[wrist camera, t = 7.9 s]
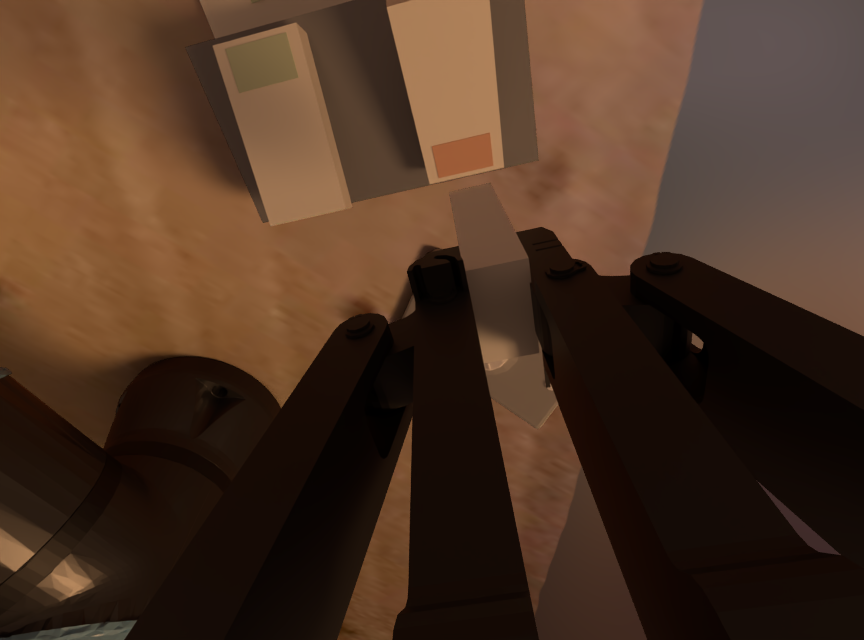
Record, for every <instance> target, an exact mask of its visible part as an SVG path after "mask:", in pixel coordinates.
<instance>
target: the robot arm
mask: <svg viewBox="0 0 864 640" xmlns="http://www.w3.org/2000/svg"><path fill="white" fill-rule="evenodd" d="M449 195H450V200H451V206H452V211H453V216H454V222H455V227H456V233H457V238H458V244H459V246H457V247H452V248H447V249H443V250H438V251H433V252H429V253H427V254H426V256H425V257H423V258H421V259H419V260H417V261H415V262H414V263H413V264H412V265H410V266H409V268H408V270H407V274H408V277H409V281H410V285H411V288H412V292H413V295H414V299H415V311H414V312H413V313H411V314H410V315H408V316H407V317H405V318H403V319H401V320H398V321H396V322H393V323H391V324H388V322H387V320H386V318H385V317H384V316H382V315H380V314H373V313H368V314H363V315H362V314H360V315H356V316H355V317H354V316H353V317H351V318H349V319H348V320H346V321H345V322H343V323H342V324H340V325H339V326H338V327H337V328H336V329H335V330H334V332H333V333H332V335H331V336H330V338H329V339H328V340H327V342H326V343H325V345H324V346H323V348H322V349H321V351H320V352H319V354H318V355H317V357H316V358H315V360H314V361H313V363H312V364H311V365H310V367H309V368H308V370H307V371H306V373H305V374H304V376H303V377H302V379H301V380H300V382H299V383H298V385H297V386H296V388H295V389H294V391H293V392H292V393H291V395H290V396H289V398H288V399H287V401H286V402H285V404H284V405H283V407H282V408H280V406H279V404H278V402H277V401H276V399H275V398H274V396H273V395H272V394H271V393H270V392H269V390H268V389H267V388H266V387H264V386H263V385H262V384H261V383H260V382H259V381H257V380H256V379H255V378H253V377H252V376H250V375H249V374H247V373H245V372H243V371H241V370H239V369H237V368H235V367H233V366H231V365H228V364H225V363H222V362H219V361H215V360H211V359H205V358H198V357H177V358H170V359H166V360H162V361H159V362H156V363H154V364H152V365H150V366H148V367H147V368H145V369H144V370H143V371H141V372H140V373H139V374H138V376H137V377H136V378H135V379H134V380H133V381H132V382H131V384H130V385H129V386H128V387H127V388H126V389H125V391H124V392H123V394H122V395H121V397H120V399H119V402H118V406H117V409H116V416H115V419H114V421H113V424H112V426H111V429H110V432H109V434H108V437H107V440H106V443H105V445H104V448H103V449H102V448H101V447H100V446H98V445H97V444H96V443H94V442H93V441H92V440H90V439H89V438H88V437H86V436H85V435H84V434H83V433H81V432H80V431H79V430H78V429H76V428H75V427H74V426H73V425H71V424H70V423H69V422H68V421H66V420H65V419H64V418H62V417H61V416H60V415H59V414H57V413H56V412H55V411H54V410H52V409H51V408H50V407H49V406H47V405H46V404H45V403H44V402H42V401H41V400H40V399H38V398H37V397H36V396H35V395H33V394H32V393H31V392H30V391H28V390H27V389H26V388H25V387H23V386H22V385H21V384H20V383H18V382H17V381H16V380H14V379H13V378H12V377H11V376H9V374H11V373H12V372H11V371H10V370H9V369H7V368H2V367H0V640H337V638H338V635H339V632H340V629H341V626H342V623H343V620H344V617H345V614H346V611H347V608H348V605H349V603H350V600H351V597H352V594H353V591H354V588H355V585H356V582H357V579H358V576H359V573H360V570H361V567H362V564H363V561H364V558H365V555H366V552H367V549H368V546H369V543H370V540H371V537H372V534H373V531H374V529H375V526H376V523H377V520H378V517H379V514H380V511H381V508H382V505H383V502H384V499H385V496H386V493H387V490H388V487H389V484H390V481H391V478H392V475H393V472H394V469H395V466H396V463H397V460H398V458H399V455H400V452H401V449H402V446H403V443H404V440H405V437H406V434H407V431H408V428H409V425H410V422H411V419H412V416H413V419H412V460H411V502H410V543H409V585H408V600H407V603H406V607H405V608H404V609H403V610H402V611H401V612H400V613H399V614H398V615H397V619H396V622H395V626H394V630H393V640H539V638H538V632H537V627H536V623H535V617H534V612H533V607H532V602H531V597H530V592H529V587H528V582H527V577H526V572H525V567H524V562H523V557H522V552H521V547H520V542H519V537H518V532H517V527H516V522H515V517H514V512H513V507H512V502H511V497H510V492H509V487H508V482H507V477H506V472H505V467H504V462H503V457H502V452H501V447H500V442H499V437H498V432H497V427H496V422H495V417H494V412H493V407H492V402H491V397H490V392H489V387H488V382H487V377H486V372H485V367H484V363H488V362H494V361H499V360H505V359H510V358H515V357H521V356H526V355H531V354H537V353H539V344H538V340H539V342H540V345H541V347H542V356H543V365H544V374H545V383H546V388H549V387H550V383H551V386H552V389H553V391H554V394H555V397H556V399H557V402H558V405H559V407H560V410H561V412H562V415H563V418H564V420H565V423H566V426H567V428H568V431H569V434H570V436H571V439H572V442H573V444H574V447H575V449H576V452H577V455H578V457H579V460H580V463H581V465H582V468H583V470H584V473H585V476H586V479H587V481H588V484H589V486H590V489H591V492H592V494H593V497H594V500H595V502H596V505H597V508H598V510H599V513H600V516H601V518H602V521H603V523H604V526H605V529H606V532H607V534H608V537H609V539H610V542H611V545H612V547H613V550H614V553H615V555H616V558H617V561H618V563H619V566H620V569H621V571H622V574H623V577H624V579H625V582H626V584H627V587H628V589H629V592H630V595H631V598H632V600H633V603H634V606H635V608H636V611H637V613H638V616H639V619H640V621H641V624H642V626H643V629H644V632H645V634H646V637H647V640H864V336H862V335H860V334H857V333H855V332H853V331H850V330H848V329H846V328H844V327H842V326H840V325H837V324H836V323H833V322H831V321H829V320H827V319H825V318H822V317H820V316H818V315H816V314H814V313H812V312H809V311H807V310H805V309H803V308H801V307H798V306H796V305H794V304H792V303H790V302H788V301H785V300H783V299H781V298H779V297H777V296H774V295H772V294H770V293H768V292H766V291H763V290H761V289H759V288H757V287H755V286H753V285H750V284H748V283H746V282H744V281H742V280H740V279H737V278H735V277H733V276H731V275H729V274H726V273H724V272H722V271H720V270H718V269H715V268H713V267H711V266H709V265H707V264H705V263H702V262H700V261H698V260H696V259H694V258H691V257H688V256H685V255H682V254H675V253H670V252H662V253H660V252H657V253H653V254H650V255H645V256H642V257H640V258H638V259H636V260H635V261H634V262H633V263H632V264H631V265H630V275H628V276H600V275H598V274H597V273H596V272H595V270H594V269H593V268H592V266H591V265H589V264H588V263H587V262H585V261H581V260H578V259H572V258H571V256H570V255H569V253H568V252H567V251H566V249H565V248H564V246H562V244H561V242H560V241H559V240H558V238H557V237H556V235H555V234H554V232H553V231H550V230H548V229H545V228H543V227H539V228H534V229H530V230H525V231H520V232H515V230H514V228H513V226H512V224H511V222H510V220H509V218H508V216H507V214H506V212H505V210H504V208H503V206H502V204H501V202H500V200H499V199H498V197H497V195H496V193H495V191H494V189H493V187H492V185H491V183H487V184H483V185H478V186H474V187H469V188H465V189H461V190H456V191H452V192H449ZM692 333H694V334H695V335H697V336H698V337H699V338H700V339H701V340H702V341H703V342H704V344H703V348H702V349H699V348H698V347H696V346H695V345H693V344H692V343H691V342H692ZM756 480H757V481H758V482H759V483H761V484H762V485H763V486H764V487H765V488H766V489H767V490H769V492H771V493H772V494H773V495H774V496H775V497H776V498H777V499H778V500H780V501H781V502H782V503H783V504H784V505H785V506H786V507H788V508H789V509H790V510H791V511H792V512H793V513H794V514H795V515H797V516H798V517H799V518H800V519H801V520H802V521H803V522H805V523H806V524H807V525H808V526H809V527H810V528H811V529H812V530H813V531H815V532H816V533H817V534H818V535H819V536H820V537H821V538H823V539H824V540H825V541H826V542H827V543H828V544H829V545H830V546H832V547H833V548H834V549H835V550H836V551H837V552H838V553H839V554H841V555H835V554H828V553H821V552H818V551H816V550H815V549H813V548H812V547H810V546H808V545H807V544H806V542H805V541H804V540H803V539H802V538H801V537H800V536H799V535H798V534H797V533H796V531H795V530H794V529H793V527H792V526H791V525H790V524H789V522H788V521H787V520H786V518H785V517H784V516H783V514H782V513H781V512H780V510H779V509H778V508H777V507H776V506H775V504H774V503H773V501H772V500H771V499H770V497H769V496H768V495H767V494H766V492H765V491H764V490H763V488H762V487H761V486H760V485H759V483H758V482H757V481H756Z"/></svg>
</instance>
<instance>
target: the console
mask: <svg viewBox="0 0 864 640" xmlns="http://www.w3.org/2000/svg"><path fill="white" fill-rule="evenodd" d="M199 1H200V3H201V6H202V8H203V10H204V13H205V15H206V18H207V20H208V23H209V25H210V28H211V30H212V32H213V35H214V37H215V39H213V40H209V41H206V42H202V43H198V44H195V45H191V46H188V47H185V48H186V50H187V53H188V55H189V57H190V59H191V62H192V64H193V66H194V69H195V71H196V73H197V75H198V78H199V80H200V82H201V84H202V87H203V89H204V91H205V93H206V96H207V98H208V100H209V102H210V105H211V107H212V109H213V111H214V114H215V116H216V118H217V120H218V123H219V125H220V127H221V129H222V132H223V134H224V136H225V138H226V141H227V143H228V145H229V147H230V150H231V152H232V154H233V157H234V159H235V161H236V163H237V166H238V168H239V170H240V172H241V175H242V177H243V179H244V181H245V184H246V186H247V188H248V190H249V193H250V195H251V197H252V199H253V202H254V204H255V206H256V208H257V211H258V213H259V215H260V217H261V220H262V222H263V223H265V222H269V220H268V217H267V214H266V211H265V208H264V204H263V201H262V198H261V195H260V192H259V189H258V186H257V183H256V180H255V176H254V173H253V170H252V167H251V164H250V161H249V158H248V155H247V152H246V149H245V145H244V142H243V139H242V136H241V133H240V130H239V127H238V124H237V121H236V117H235V114H234V111H233V108H232V105H231V102H230V99H229V96H228V93H227V89H226V86H225V83H224V80H223V77H222V74H221V71H220V68H219V65H218V62H217V58H216V55H215V52H214V49H213V45H217V44H220V43H224V42H228V41H231V40H235V39H238V38H242V37H246V36H249V35H253V34H256V33H260V32H264V31H267V30H271V29H274V28H278V27H282V26H285V25H289V24H292V23H297V24H298V25H299V26H300V27H301V28H302V29H303V30H304V31H305V32H306V33H307V36H308V40H309V44H310V48H311V51H312V55H313V59H314V63H315V67H316V70H317V74H318V78H319V82H320V86H321V89H322V93H323V97H324V101H325V105H326V108H327V112H328V116H329V120H330V124H331V127H332V131H333V135H334V139H335V143H336V146H337V150H338V154H339V158H340V162H341V165H342V169H343V173H344V177H345V181H346V184H347V188H348V192H349V196H350V200H351V203H353V202H358V201H362V200H366V199H371V198H375V197H380V196H384V195H388V194H393V193H397V192H402V191H406V190H411V189H415V188H419V187H424V186H428V185H433V184H430V183H429V179H428V175H427V171H426V167H425V163H424V159H423V155H422V151H421V146H420V142H419V138H418V134H417V130H416V126H415V122H414V118H413V114H412V110H411V105H410V101H409V97H408V93H407V89H406V85H405V81H404V77H403V73H402V69H401V64H400V60H399V56H398V52H397V48H396V44H395V40H394V36H393V32H392V28H391V23H390V19H389V15H388V11H387V7H386V0H199ZM490 11H491V22H492V34H493V45H494V57H495V68H496V80H497V91H498V103H499V114H500V125H501V137H502V148H503V160H504V168H508V167H512V166H516V165H521V164H525V163H530V162H534V161H539V159H538V148H537V137H536V125H535V114H534V103H533V92H532V80H531V69H530V58H529V47H528V35H527V24H526V13H525V2H524V0H490ZM500 169H503V168H500ZM495 170H499V169H495ZM491 171H494V170H491ZM487 172H490V171H487ZM482 173H486V172H482ZM478 174H481V173H478ZM473 175H477V174H473ZM469 176H472V175H469ZM465 177H468V176H465ZM460 178H463V177H460ZM456 179H459V178H456ZM451 180H455V179H451ZM447 181H450V180H447ZM443 182H446V181H443ZM438 183H441V182H438ZM434 184H437V183H434Z"/></svg>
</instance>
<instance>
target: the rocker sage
mask: <svg viewBox="0 0 864 640" xmlns="http://www.w3.org/2000/svg"><path fill="white" fill-rule="evenodd" d="M213 49H214V52H215V55H216V58H217V62H218V65H219V68H220V71H221V74H222V77H223V80H224V83H225V86H226V89H227V93H228V96H229V99H230V102H231V105H232V108H233V111H234V114H235V117H236V121H237V124H238V127H239V130H240V133H241V136H242V139H243V142H244V145H245V149H246V152H247V155H248V158H249V161H250V164H251V167H252V170H253V173H254V176H255V180H256V183H257V186H258V189H259V192H260V195H261V198H262V201H263V204H264V208H265V211H266V214H267V217H268V220H269V223H270V226H275V225H279V224H283V223H288V222H292V221H297V220H301V219H306V218H310V217H314V216H319V215H323V214H328V213H332V212H337V211H341V210H346V209H349V208H352V203H351V200H350V196H349V192H348V188H347V184H346V181H345V177H344V173H343V169H342V165H341V162H340V158H339V154H338V150H337V146H336V143H335V139H334V135H333V131H332V127H331V124H330V120H329V116H328V112H327V108H326V105H325V101H324V97H323V93H322V89H321V86H320V82H319V78H318V74H317V70H316V67H315V63H314V59H313V55H312V51H311V48H310V44H309V40H308V36H307V33H306V32H305V31H304V30H303V29H302V28H301V27H300V26H299V25H298V24H297V23H292V24H289V25H285V26H282V27H278V28H274V29H271V30H267V31H264V32H260V33H256V34H253V35H249V36H246V37H242V38H238V39H235V40H231V41H228V42H224V43H220V44H217V45H213Z"/></svg>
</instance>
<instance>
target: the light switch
mask: <svg viewBox="0 0 864 640" xmlns="http://www.w3.org/2000/svg"><path fill="white" fill-rule="evenodd" d="M438 250H441V249H438V248H437V249H435V250H433V251H438ZM433 251H432V252H433ZM414 311H415V299H414V295H412V297H411V299H410V301H409V304H408V306H407V308H406V310H405V312H404V315H403V317H402V319H403V318H405V317H407V316H408V315H410V314H411V313H413V312H414ZM538 344H539V353H537V354H531V355H526V356H521V357H515V358H510V359H505V360H499V361H494V362H488V363H484V367H485V372H486V377H487V382H488V387H489V392H490V397H491V398H492V399H493V400H495V401H496V402H498V403H499V404H501V405H502V406H504V407H505V408H507V409H508V410H509V411H511V412H512V413H514V414H515V415H517V416H518V417H520V418H521V419H523V420H524V421H526V422H527V423H529V424H530V425H531V426H533V427H534V428H536V429H539V428H541V426H542V425H543V424H544V423H545V421H546V420H547V419H548V417H549V416H550V415H551V413H552V412H553V411H554V409H555V408H556V407H557V405H558V402H557V399H556V397H555V394H554V391H553V389H552V386H551V383H550V387H549V388H546V383H545V374H544V365H543V356H542V347H541V345H540V342H539V340H538Z"/></svg>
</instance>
